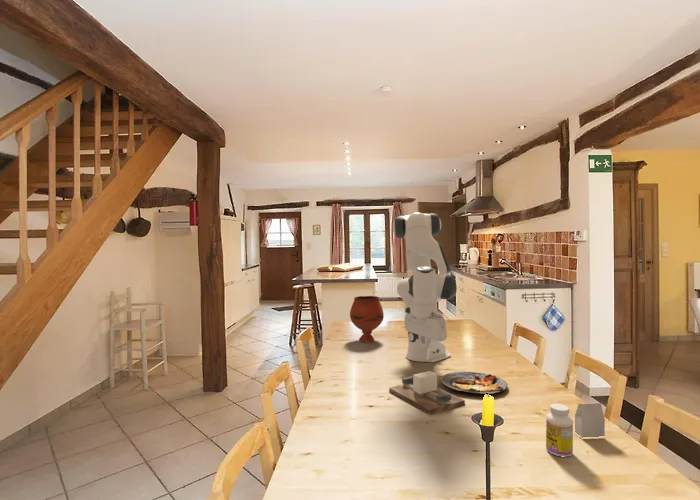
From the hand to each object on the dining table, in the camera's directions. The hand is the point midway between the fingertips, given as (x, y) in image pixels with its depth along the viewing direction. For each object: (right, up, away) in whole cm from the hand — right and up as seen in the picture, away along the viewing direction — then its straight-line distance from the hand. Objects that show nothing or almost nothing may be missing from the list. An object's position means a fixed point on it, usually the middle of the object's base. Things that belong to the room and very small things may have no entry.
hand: (425, 347), depth 154 cm
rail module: (0, -17, +1) cm, 17 cm away
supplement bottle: (+30, -20, -39) cm, 53 cm away
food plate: (+22, -19, +12) cm, 31 cm away
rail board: (0, -19, +1) cm, 19 cm away
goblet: (-18, -16, +84) cm, 88 cm away
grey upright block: (+44, -20, -30) cm, 57 cm away
